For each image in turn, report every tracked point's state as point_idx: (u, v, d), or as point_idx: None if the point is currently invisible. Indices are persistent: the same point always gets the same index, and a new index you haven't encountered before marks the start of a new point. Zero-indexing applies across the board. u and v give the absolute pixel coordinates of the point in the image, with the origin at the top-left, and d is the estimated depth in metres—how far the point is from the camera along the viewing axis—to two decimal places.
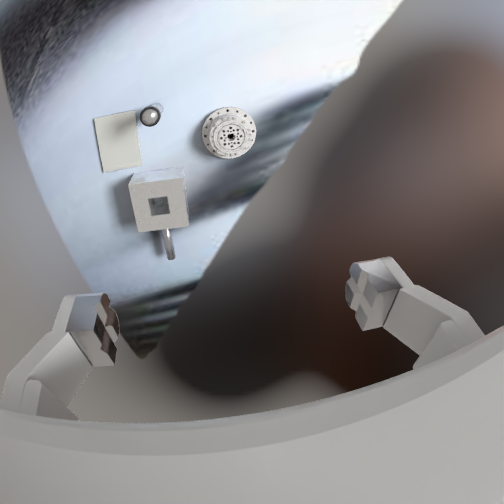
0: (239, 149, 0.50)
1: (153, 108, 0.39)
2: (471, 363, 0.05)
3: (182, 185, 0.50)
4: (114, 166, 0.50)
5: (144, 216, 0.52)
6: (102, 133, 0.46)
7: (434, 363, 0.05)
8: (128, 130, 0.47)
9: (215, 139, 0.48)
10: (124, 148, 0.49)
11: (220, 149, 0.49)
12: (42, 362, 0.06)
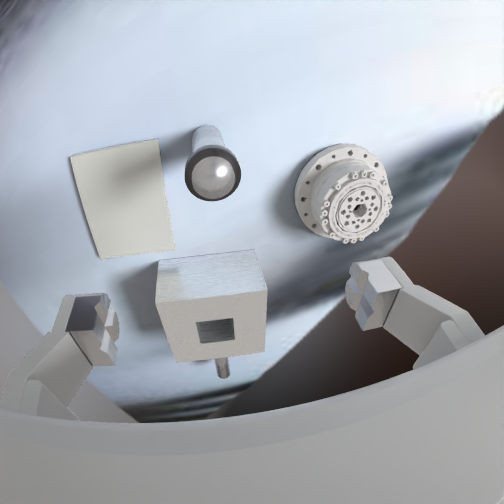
0: (367, 231, 0.27)
1: (223, 154, 0.16)
2: (471, 363, 0.05)
3: (264, 301, 0.27)
4: (121, 249, 0.27)
5: (187, 344, 0.29)
6: (89, 187, 0.22)
7: (434, 363, 0.05)
8: (145, 183, 0.23)
9: (332, 214, 0.25)
10: (138, 218, 0.25)
11: (337, 232, 0.26)
12: (42, 361, 0.06)
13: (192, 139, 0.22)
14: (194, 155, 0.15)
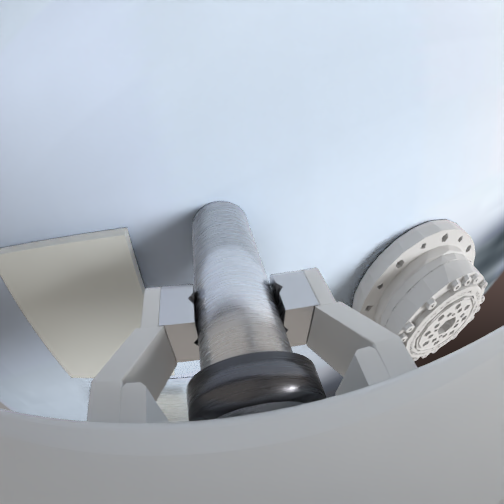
0: (444, 342, 0.16)
1: (295, 395, 0.05)
2: (471, 363, 0.05)
3: None
4: (96, 372, 0.17)
5: None
6: (29, 300, 0.12)
7: (434, 363, 0.05)
8: (114, 301, 0.13)
9: (413, 339, 0.14)
10: (113, 343, 0.15)
11: (410, 354, 0.15)
12: (138, 361, 0.06)
13: (192, 234, 0.12)
14: (211, 398, 0.05)
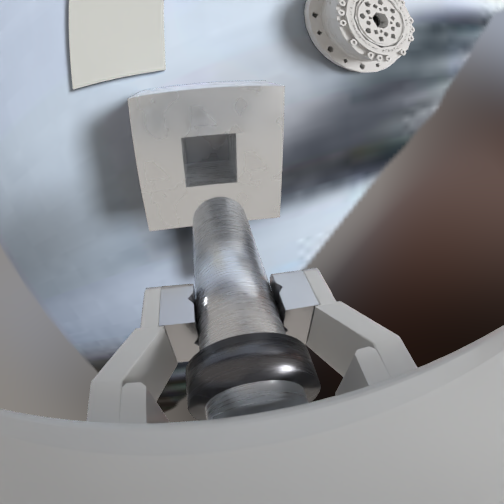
0: (393, 50, 0.17)
1: (288, 374, 0.06)
2: (471, 363, 0.05)
3: (280, 107, 0.17)
4: (99, 73, 0.18)
5: (167, 188, 0.20)
6: (81, 3, 0.13)
7: (434, 363, 0.05)
8: None
9: (350, 15, 0.15)
10: (127, 30, 0.16)
11: (358, 38, 0.16)
12: (138, 361, 0.06)
13: None
14: (208, 376, 0.06)
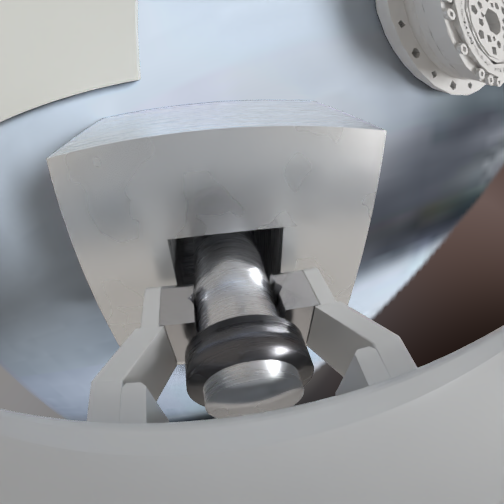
0: None
1: (281, 354, 0.06)
2: (471, 363, 0.05)
3: (374, 173, 0.09)
4: (29, 93, 0.09)
5: None
6: None
7: (434, 363, 0.05)
8: None
9: (460, 3, 0.06)
10: (72, 14, 0.07)
11: (470, 45, 0.07)
12: (138, 361, 0.06)
13: None
14: (206, 355, 0.06)
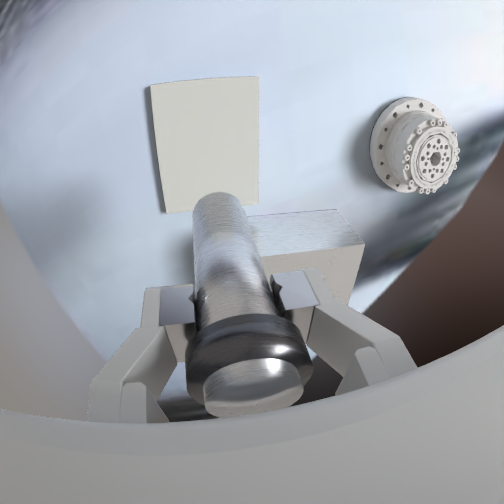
0: (439, 182, 0.23)
1: (281, 352, 0.06)
2: (471, 363, 0.05)
3: (359, 258, 0.24)
4: (194, 202, 0.24)
5: None
6: (168, 122, 0.20)
7: (434, 363, 0.05)
8: (238, 122, 0.21)
9: (413, 159, 0.21)
10: (223, 163, 0.23)
11: (415, 179, 0.23)
12: (138, 361, 0.06)
13: None
14: (206, 354, 0.06)
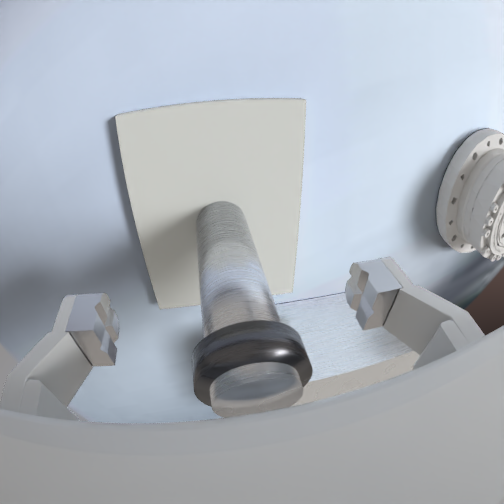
0: None
1: (282, 356, 0.07)
2: (471, 363, 0.05)
3: None
4: None
5: None
6: (151, 180, 0.12)
7: (434, 363, 0.05)
8: (269, 178, 0.13)
9: (496, 223, 0.13)
10: None
11: (492, 247, 0.14)
12: (42, 362, 0.06)
13: (196, 230, 0.13)
14: (212, 358, 0.07)
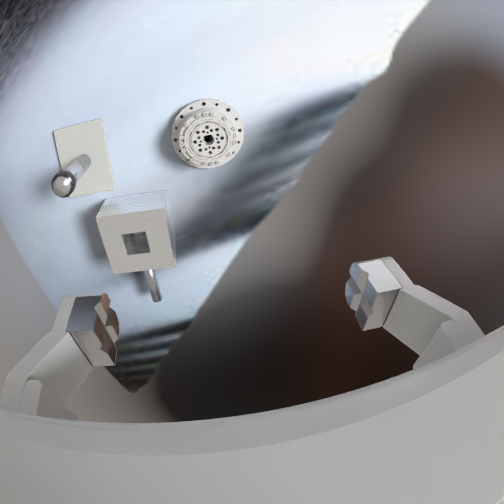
0: (220, 156, 0.36)
1: (64, 175, 0.28)
2: (471, 363, 0.05)
3: (164, 218, 0.38)
4: (81, 190, 0.38)
5: (119, 255, 0.40)
6: (63, 149, 0.34)
7: (434, 363, 0.05)
8: (95, 144, 0.35)
9: (187, 144, 0.35)
10: (91, 168, 0.37)
11: (194, 157, 0.36)
12: (42, 362, 0.06)
13: None
14: (54, 176, 0.28)
